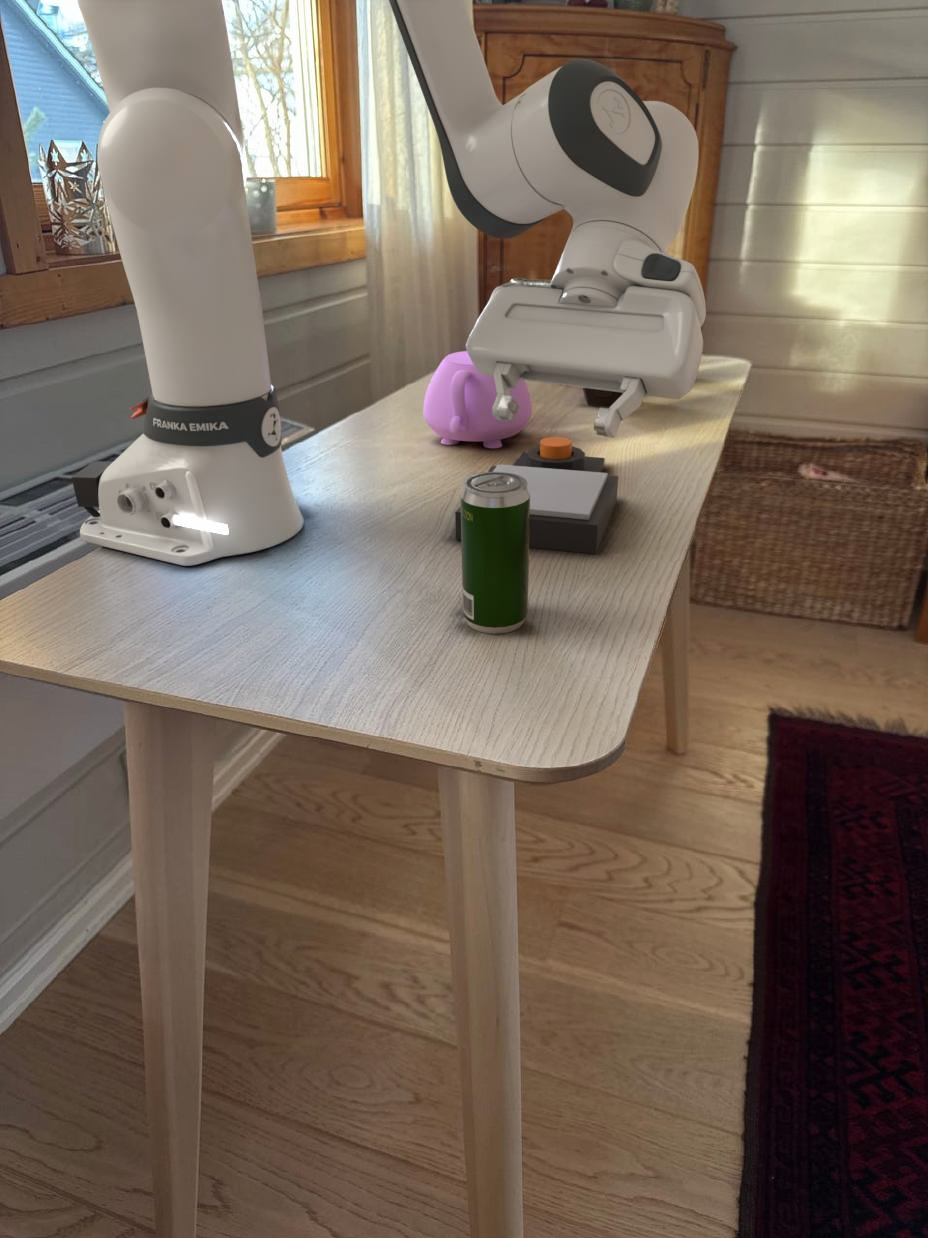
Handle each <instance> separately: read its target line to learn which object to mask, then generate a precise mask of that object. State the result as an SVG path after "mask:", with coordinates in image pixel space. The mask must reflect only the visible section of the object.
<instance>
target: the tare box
mask: <svg viewBox="0 0 928 1238" xmlns="http://www.w3.org/2000/svg"><path fill="white" fill-rule="evenodd" d="M605 461H606V459H605V457H598V456H597V457H596V456H586V453H585V451H583V450H582V449H581V448H579V447H576V446H573V445H572V452H571V457H569V458H565V459H548V458H544V457H540V445H537V446H535V447H531V448H529V449H528V451H522V452H521V454H520V455H519V456H518V458H517V459H516V460H515V462H514V463H513V464H512V466H525V467H538V468H550V469H563V470H576V471H588V472H601V473H603V471H604V469H605Z"/></svg>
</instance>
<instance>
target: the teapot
mask: <svg viewBox="0 0 928 1238" xmlns="http://www.w3.org/2000/svg"><path fill="white" fill-rule="evenodd" d="M509 390H510V395H512V396H513V397H514V398H515V401H516V402H517V403H518V405H519V409H518V411H517V413H516V414H515V419H514V421H513V422H507V421H500V420H496V418H495V417H494V415H493V414H492V407H493V405H494V402H495V400H496V397H497V395H498V394H497V392H496V386H495V381H494V376H487V375H482V374H481V373H480V372H479V371H478V370H477V368H476V367H475V366H474V364H473V363H472V361H471V359H470V357H469V355H468V353H467V350H465V351H464V350H463V351H457V352H453V353H450V354H447V355H446V356H445V357H444V358H443V359H442V361H441V362H440V363H439V365H438V366H437V369H436V370H435V372H434V374H433V375H432V377H431V380H430V382H429V383H428V385H427V389H426V392H425V395H424V400H423V407H422V413H423V414H422V416H423V419H424V421H425V423H426V424H427V425H428V426H429V428H430V429H432V431H433V432H434V433H435V434H436V435H438V436H440V437H442V438H441V441H440V444H442V445H447V446H452V445H457V444H459V443H460V441H462V442H482V443H483V447H484V448H486V449H499V448H502V447H503V443H502V441H501V440H504V439H508V438H511V437H513V436H516V435H517V434H519V433H520V432H521V431H522V430H523V429H524V428H525V427H526V425H527V424H528V423H529V421H530V420H531V417H532V415H533V405H532V399H531V395H530V392H529V388H528V386H527V383H526V380H518V383H517V385H516V387H515V388H510V387H509Z"/></svg>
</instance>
